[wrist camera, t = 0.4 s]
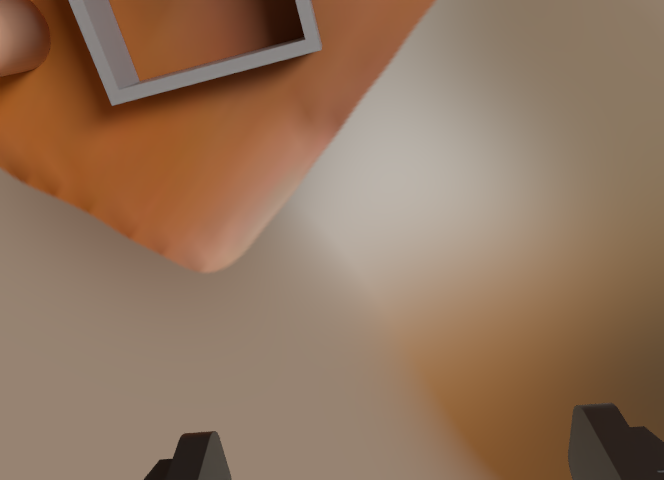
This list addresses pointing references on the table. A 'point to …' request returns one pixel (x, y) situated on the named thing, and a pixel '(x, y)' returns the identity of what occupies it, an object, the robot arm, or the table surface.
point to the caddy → (126, 86)
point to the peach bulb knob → (22, 37)
